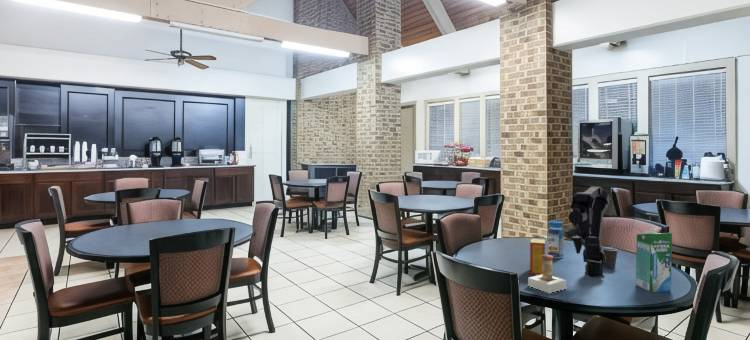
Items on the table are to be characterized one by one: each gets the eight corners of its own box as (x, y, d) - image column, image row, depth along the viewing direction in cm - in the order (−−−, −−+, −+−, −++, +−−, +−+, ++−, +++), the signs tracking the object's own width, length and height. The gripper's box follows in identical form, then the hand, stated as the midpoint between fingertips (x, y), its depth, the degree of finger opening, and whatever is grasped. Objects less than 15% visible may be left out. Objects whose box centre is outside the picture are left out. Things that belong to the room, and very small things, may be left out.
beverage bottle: (566, 258, 224) (566, 222, 223) (551, 258, 224) (551, 222, 223) (559, 254, 232) (560, 220, 231) (545, 254, 233) (545, 220, 232)
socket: (544, 282, 185) (544, 273, 185) (566, 289, 175) (566, 280, 175) (528, 286, 180) (528, 277, 179) (549, 294, 170) (549, 284, 170)
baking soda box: (531, 268, 206) (531, 237, 205) (545, 270, 203) (545, 238, 202) (530, 274, 197) (530, 241, 196) (544, 275, 195) (544, 242, 194)
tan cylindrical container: (553, 287, 178) (553, 255, 178) (552, 290, 174) (552, 257, 174) (542, 285, 181) (542, 254, 180) (540, 288, 177) (540, 256, 176)
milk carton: (655, 284, 180) (656, 228, 179) (671, 291, 171) (672, 232, 170) (635, 284, 180) (636, 229, 179) (650, 292, 171) (651, 233, 170)
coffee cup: (620, 269, 203) (621, 249, 202) (603, 268, 204) (603, 249, 204) (614, 265, 211) (614, 246, 210) (597, 264, 212) (597, 245, 212)
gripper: (556, 217, 189) (555, 251, 190) (573, 225, 170) (573, 261, 171) (580, 217, 189) (580, 250, 189) (600, 225, 170) (600, 261, 171)
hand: (582, 256), depth 180 cm, fingers open, 9 cm apart
